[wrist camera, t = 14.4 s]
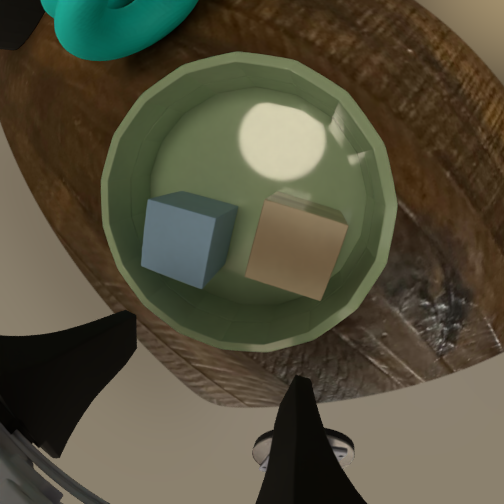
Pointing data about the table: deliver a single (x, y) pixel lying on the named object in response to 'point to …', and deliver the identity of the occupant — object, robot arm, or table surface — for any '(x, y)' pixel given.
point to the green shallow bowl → (249, 191)
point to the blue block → (187, 236)
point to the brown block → (296, 245)
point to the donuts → (114, 25)
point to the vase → (18, 21)
